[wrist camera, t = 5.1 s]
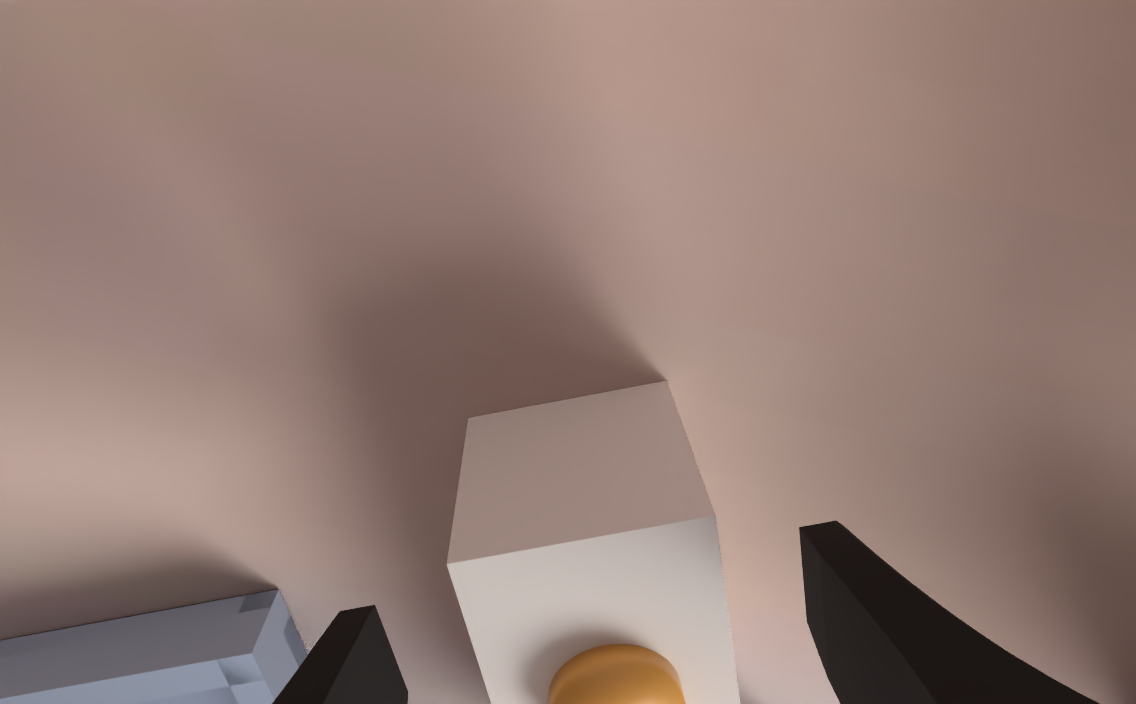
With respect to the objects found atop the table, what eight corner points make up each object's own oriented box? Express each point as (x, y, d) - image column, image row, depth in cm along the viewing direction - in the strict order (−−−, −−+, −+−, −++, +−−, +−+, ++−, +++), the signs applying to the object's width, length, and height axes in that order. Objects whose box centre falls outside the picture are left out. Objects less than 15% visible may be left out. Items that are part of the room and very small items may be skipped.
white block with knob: (714, 700, 21) (773, 923, 16) (555, 727, 21) (563, 957, 16) (665, 377, 17) (723, 539, 12) (468, 414, 17) (442, 589, 12)
